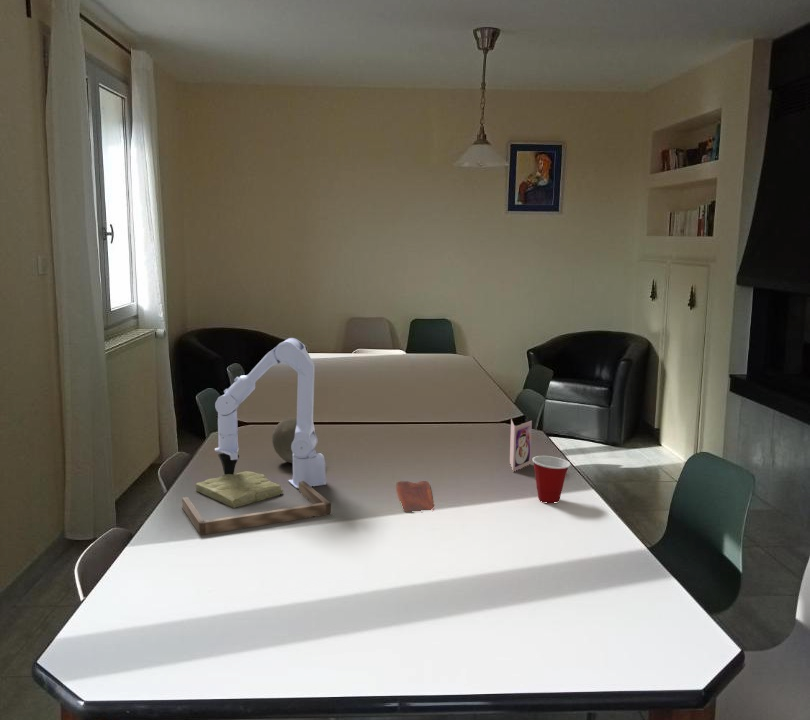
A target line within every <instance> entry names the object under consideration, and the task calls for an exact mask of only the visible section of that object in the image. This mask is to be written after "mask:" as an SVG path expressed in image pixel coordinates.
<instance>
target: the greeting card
mask: <svg viewBox="0 0 810 720" xmlns="http://www.w3.org/2000/svg"><path fill="white" fill-rule="evenodd" d="M532 422H533V420H529V421H526V422H524V423H521V424H519V425H515V424H514V421H513V419H512V418H510V442H509V444H510V445H509V464H511V465H510V467H512V468H511V470H513V471H512V473H515V472H517V471H519V470H518V469H520V468H522V467H524V466H526V465H528V464H530V465H531V455H532V454H531V451H532V450H531V448H532V425H533V423H532ZM528 466H529V465H528ZM526 467H527V466H526ZM524 468H525V467H524ZM522 469H523V468H522ZM516 470H517V471H516ZM520 470H521V469H520ZM514 471H515V472H514Z"/></svg>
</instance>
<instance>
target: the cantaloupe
mask: <svg viewBox="0 0 810 720" xmlns="http://www.w3.org/2000/svg"><path fill="white" fill-rule="evenodd" d="M296 425H297V418H285V419H283V420H280V422H278V424H276V425H275V427H274V429H273V432H272V435H271V442H272V446H273V447H272V448H273V449H274V451H275V452H276V455H278V456H279V458H281V459H282V460H283V461H286V462H287V463H289V464H292V465H293V452H292V450H291V444H292V442H293V440H294V438H295V430H296Z"/></svg>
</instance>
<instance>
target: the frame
mask: <svg viewBox="0 0 810 720" xmlns="http://www.w3.org/2000/svg"><path fill="white" fill-rule="evenodd" d="M299 491H300V492H301V493H302V494H303V497H304V498H306V497H307V498H308V499H309V500H310V501H309V500H308V499H307V498H306V499H307V500H308V501H309V502H311V504H304V505H299V506H292V507H291V506H290V507H285V508H280V509H279V508H278V509H277V508H276V509H272V510H266V511H260V512H253V513H245V514H239V515H231V516H227V517H219V518H213V519H206V520H205V519H204V518H203V517H202V514H200V512H199V511H198V510H197V507H195V505H194V504H193V502H192V501H191V500H190V498H189V497H188V496H185V497H182V498H181V504H182V509H183V511H184V513H185V515H186V516H187V518H188V519H189V521H190V522H191V523H192V526H194V528H195V529H196V532H197V533H198V534H199V535H200V536H202V535H208V534H209V535H210V534H215V533H221V532H227V531H233V530H241V529H246V528H251V527H258V526H264V525H271V524H277V523H283V522H290V521H295V520H296V519H297V520H302V519H301V518H303V519H308V518H307V517H309V518H312V517H311V516H315V517H319V516H318V515H322V516H325V515H324V514H328V515H331V514H332V503H331V502H330V501H329V500H328V499H326V498H325V497H324V496H323V495H322V494H321V493H319V492H318V491H316V489H314V488H313V487H311V486H309V485H308V484H307V483H306V482H304V481H299V488H298V492H299ZM300 492H299V493H300ZM301 493H300V494H301ZM302 494H301V495H302ZM330 513H331V514H330Z"/></svg>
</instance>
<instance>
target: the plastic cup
mask: <svg viewBox="0 0 810 720" xmlns="http://www.w3.org/2000/svg"><path fill="white" fill-rule="evenodd" d="M531 460H532V463H533V469H534V476H535V482H536V483H535V484H536V489H537V497H538V501H539V500H540V501H539V502H541V501H542V502H541V503H543V502H547V503H554V502H558V501H559V502H560V500H561V497H562V496H561V494H562V491H563V487H564V483H565V480H566V475H567V472H568V469H569V468H570V466H571V465H572V464H571V462H570V461H568V460H567V459H564V458H560V457H557V456H551V455H537V456H534V457H532V458H531ZM559 502H558V503H559ZM547 503H546V504H547ZM554 504H555V503H554Z"/></svg>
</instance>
